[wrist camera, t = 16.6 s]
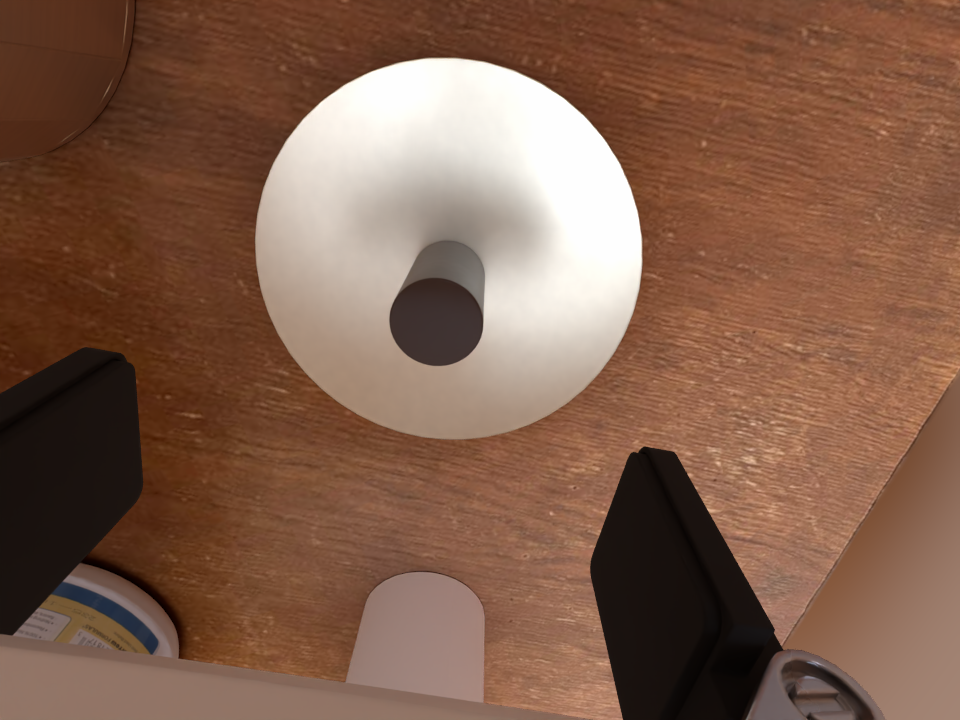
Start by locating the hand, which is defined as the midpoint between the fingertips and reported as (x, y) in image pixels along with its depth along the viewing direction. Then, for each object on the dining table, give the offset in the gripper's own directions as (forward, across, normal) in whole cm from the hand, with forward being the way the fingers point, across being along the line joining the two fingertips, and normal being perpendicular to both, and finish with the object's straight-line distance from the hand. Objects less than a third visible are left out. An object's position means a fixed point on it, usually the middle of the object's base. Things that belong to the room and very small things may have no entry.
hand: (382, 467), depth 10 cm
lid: (+14, 0, 0) cm, 14 cm away
